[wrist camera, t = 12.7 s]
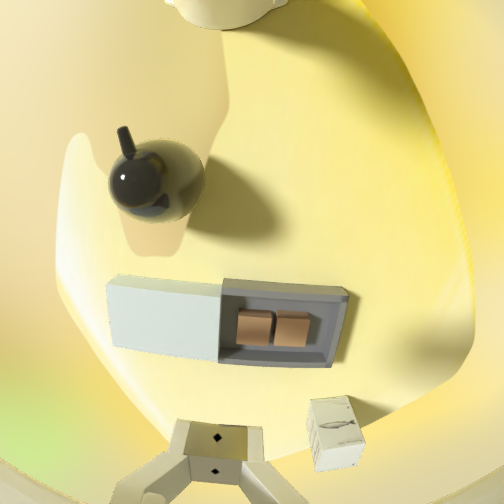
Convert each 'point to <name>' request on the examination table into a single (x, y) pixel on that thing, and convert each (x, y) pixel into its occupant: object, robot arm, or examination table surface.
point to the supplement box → (334, 434)
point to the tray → (274, 298)
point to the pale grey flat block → (165, 316)
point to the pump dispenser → (155, 179)
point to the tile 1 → (253, 327)
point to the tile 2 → (290, 328)
